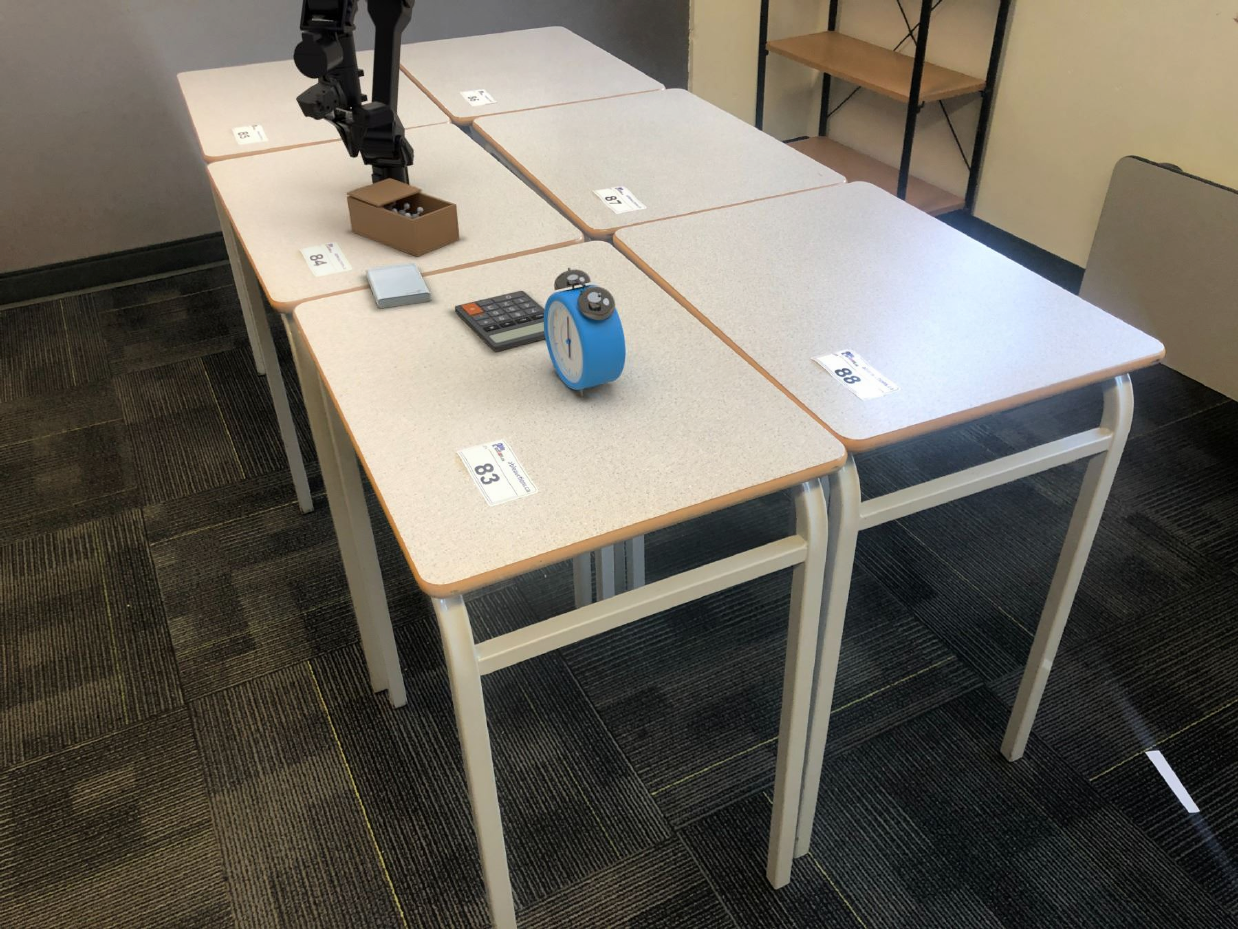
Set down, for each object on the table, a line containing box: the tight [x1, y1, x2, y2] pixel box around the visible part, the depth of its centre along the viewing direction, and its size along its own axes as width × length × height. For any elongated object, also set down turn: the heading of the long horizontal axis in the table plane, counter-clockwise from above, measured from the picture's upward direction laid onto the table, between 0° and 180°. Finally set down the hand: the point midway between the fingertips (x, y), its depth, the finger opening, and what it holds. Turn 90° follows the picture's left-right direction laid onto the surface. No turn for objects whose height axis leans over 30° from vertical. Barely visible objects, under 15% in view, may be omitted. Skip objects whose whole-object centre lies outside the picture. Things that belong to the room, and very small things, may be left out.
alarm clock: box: [544, 267, 627, 397], centre depth 125 cm, size 13×6×15 cm, turn 29°
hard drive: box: [365, 262, 432, 309], centre depth 152 cm, size 2×8×12 cm
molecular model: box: [379, 201, 423, 219], centre depth 169 cm, size 14×4×5 cm, turn 49°
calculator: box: [454, 290, 546, 352], centre depth 143 cm, size 12×1×15 cm
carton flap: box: [346, 178, 423, 207], centre depth 169 cm, size 9×10×1 cm
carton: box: [346, 192, 461, 258], centre depth 169 cm, size 18×10×6 cm, turn 51°
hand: (354, 156), depth 169 cm, fingers closed
